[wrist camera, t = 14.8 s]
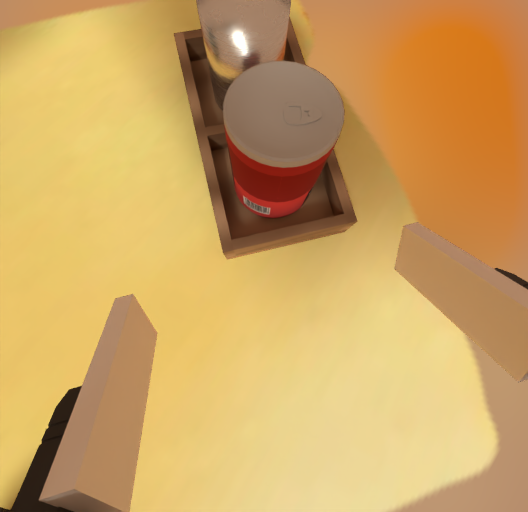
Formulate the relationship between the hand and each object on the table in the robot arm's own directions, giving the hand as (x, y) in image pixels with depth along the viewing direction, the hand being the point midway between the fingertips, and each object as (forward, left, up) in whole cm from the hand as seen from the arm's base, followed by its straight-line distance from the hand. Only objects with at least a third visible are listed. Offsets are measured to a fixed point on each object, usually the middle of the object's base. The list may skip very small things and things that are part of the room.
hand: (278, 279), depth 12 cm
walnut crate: (-11, +13, -14) cm, 22 cm away
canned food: (-6, +9, -13) cm, 17 cm away
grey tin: (-15, +17, -13) cm, 26 cm away
